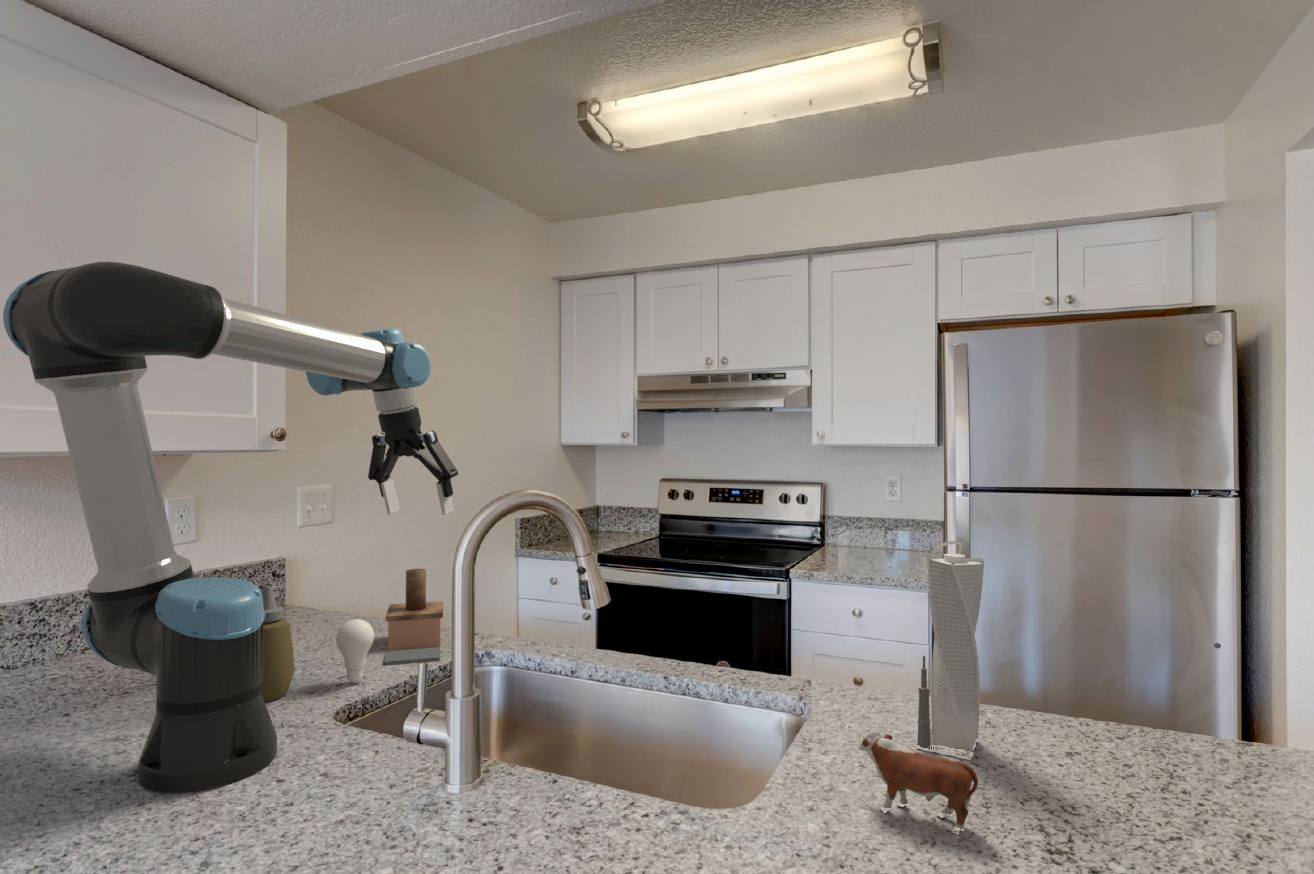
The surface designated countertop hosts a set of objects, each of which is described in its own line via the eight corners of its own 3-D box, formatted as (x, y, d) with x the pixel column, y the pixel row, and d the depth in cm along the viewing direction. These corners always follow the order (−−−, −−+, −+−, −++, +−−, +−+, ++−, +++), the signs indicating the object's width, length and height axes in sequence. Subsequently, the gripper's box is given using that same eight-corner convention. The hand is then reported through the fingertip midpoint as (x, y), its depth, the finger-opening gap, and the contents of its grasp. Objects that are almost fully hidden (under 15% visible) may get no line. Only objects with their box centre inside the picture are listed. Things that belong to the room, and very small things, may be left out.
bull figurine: (863, 787, 85) (863, 720, 85) (981, 826, 76) (981, 752, 76) (848, 802, 81) (848, 732, 81) (970, 844, 73) (970, 766, 73)
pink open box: (388, 650, 140) (388, 620, 140) (392, 637, 149) (392, 609, 150) (440, 646, 143) (440, 617, 143) (440, 633, 152) (440, 606, 152)
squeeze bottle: (251, 709, 109) (252, 594, 109) (229, 698, 114) (230, 588, 114) (303, 695, 115) (304, 586, 115) (281, 684, 120) (281, 580, 120)
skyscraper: (927, 727, 103) (927, 538, 103) (987, 739, 99) (987, 542, 99) (916, 748, 96) (916, 545, 96) (980, 762, 91) (980, 549, 92)
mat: (384, 664, 131) (384, 661, 131) (387, 654, 138) (387, 651, 138) (439, 660, 134) (439, 657, 134) (440, 649, 140) (440, 646, 140)
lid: (385, 621, 139) (385, 576, 139) (389, 608, 150) (390, 567, 150) (442, 617, 142) (443, 573, 143) (443, 605, 153) (443, 564, 153)
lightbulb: (335, 679, 123) (336, 617, 123) (373, 675, 125) (373, 613, 125) (335, 691, 117) (336, 625, 117) (374, 685, 120) (375, 621, 120)
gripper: (462, 401, 133) (483, 505, 138) (361, 407, 142) (384, 504, 148) (438, 411, 127) (460, 519, 132) (333, 416, 136) (358, 518, 141)
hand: (420, 512), depth 140 cm, fingers open, 13 cm apart
